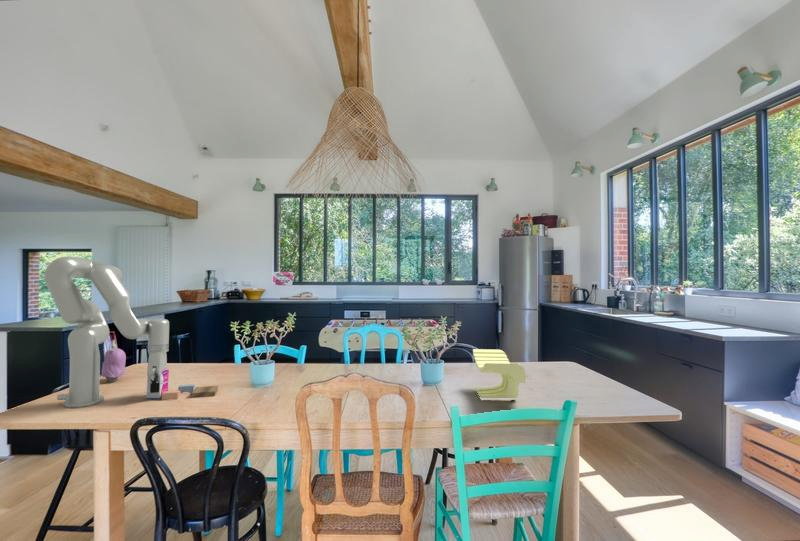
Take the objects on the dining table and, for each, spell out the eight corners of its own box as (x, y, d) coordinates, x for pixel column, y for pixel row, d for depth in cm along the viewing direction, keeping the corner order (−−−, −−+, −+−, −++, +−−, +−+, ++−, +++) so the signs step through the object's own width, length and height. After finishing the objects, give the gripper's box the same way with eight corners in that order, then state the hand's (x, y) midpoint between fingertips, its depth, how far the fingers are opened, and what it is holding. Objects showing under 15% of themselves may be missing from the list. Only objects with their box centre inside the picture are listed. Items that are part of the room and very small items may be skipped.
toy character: (103, 379, 189) (104, 339, 189) (128, 376, 193) (128, 337, 193) (95, 385, 178) (96, 343, 178) (122, 382, 182) (122, 341, 182)
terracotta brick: (161, 400, 157) (161, 393, 157) (164, 398, 160) (164, 391, 160) (177, 399, 158) (177, 392, 159) (180, 397, 161) (180, 390, 161)
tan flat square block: (191, 399, 160) (191, 393, 160) (196, 392, 169) (196, 387, 169) (214, 397, 163) (214, 391, 163) (218, 391, 171) (218, 385, 172)
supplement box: (159, 399, 158) (160, 372, 158) (145, 399, 158) (146, 372, 158) (168, 395, 164) (169, 368, 164) (155, 395, 164) (155, 368, 164)
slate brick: (178, 393, 167) (178, 386, 167) (179, 391, 170) (180, 385, 170) (193, 392, 168) (193, 385, 169) (194, 390, 171) (194, 383, 171)
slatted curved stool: (525, 408, 150) (525, 363, 150) (485, 407, 150) (485, 363, 151) (506, 386, 180) (506, 349, 180) (472, 386, 180) (472, 349, 181)
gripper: (154, 345, 168) (154, 385, 168) (141, 352, 152) (140, 396, 151) (173, 344, 171) (173, 383, 170) (162, 351, 154) (161, 395, 154)
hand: (157, 389), depth 161 cm, fingers closed on supplement box, 7 cm apart
